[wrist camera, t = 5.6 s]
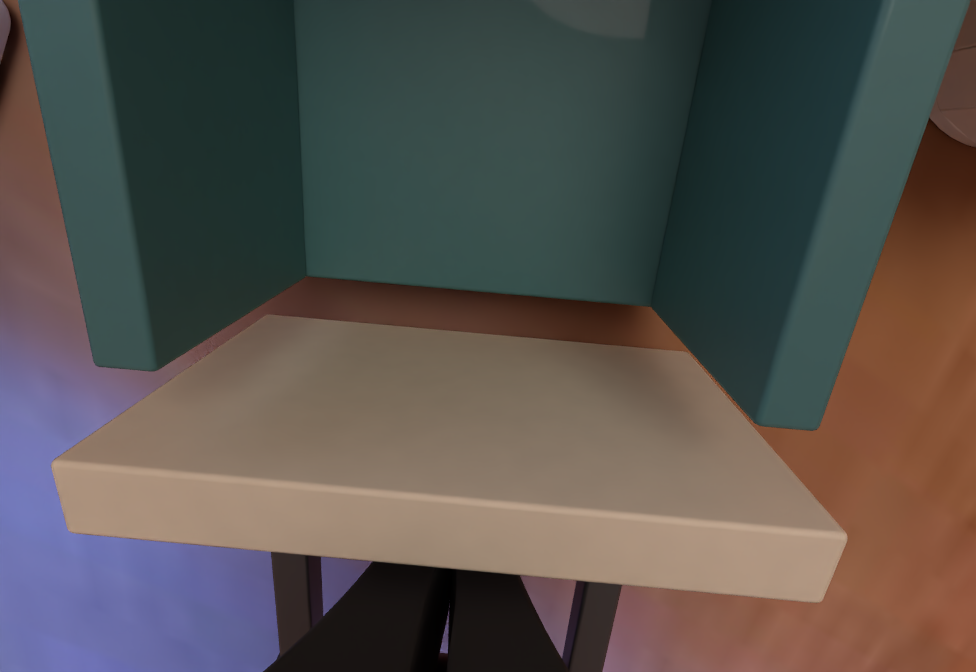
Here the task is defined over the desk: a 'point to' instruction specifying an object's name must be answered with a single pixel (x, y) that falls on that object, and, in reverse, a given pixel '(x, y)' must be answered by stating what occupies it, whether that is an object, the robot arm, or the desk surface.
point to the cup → (959, 86)
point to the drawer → (479, 274)
